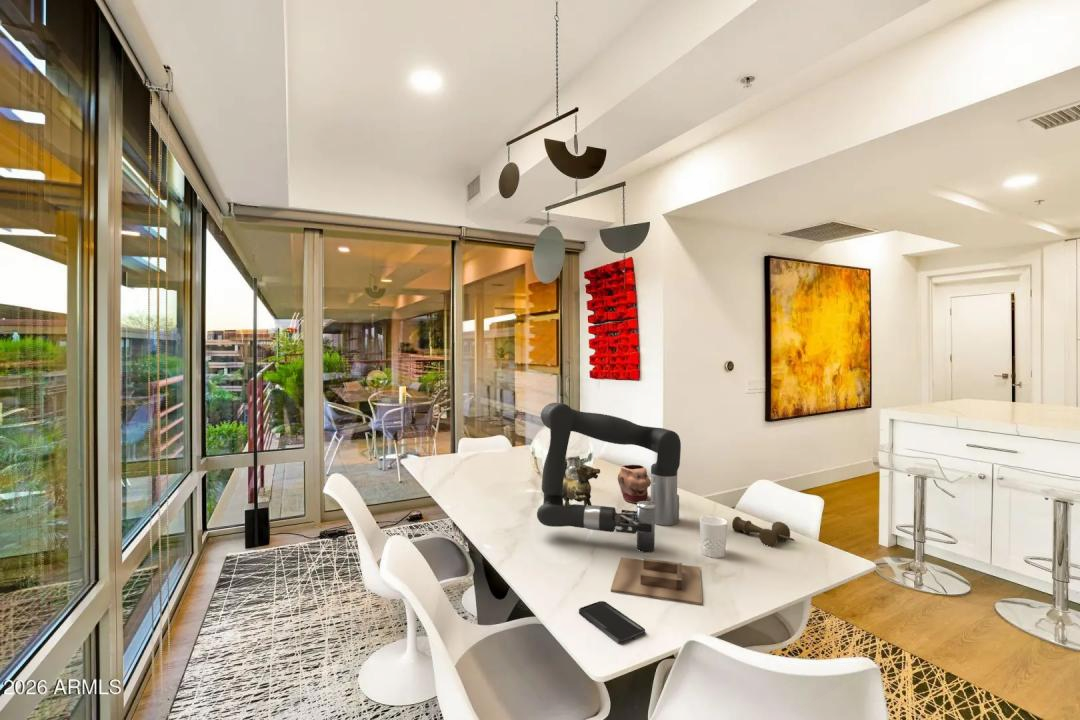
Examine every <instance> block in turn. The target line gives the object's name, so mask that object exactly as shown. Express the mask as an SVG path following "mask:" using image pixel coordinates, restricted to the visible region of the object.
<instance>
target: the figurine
mask: <svg viewBox="0 0 1080 720" xmlns="http://www.w3.org/2000/svg"><path fill="white" fill-rule="evenodd" d="M567 467H568V461H567V459H565V467H564V480H563V489H562V494H563V501H564V503H563V506H568V505H572V504H571V503H570V501H573V500H574V501H576V502H578V503H582V502H583V505H592V501H591V498H592V496H591V492H592V486H591V483H590V480H592V479H595V480H596V479H598V478H599V475H598V474H600V473H601V469H600V468H595V467H592V466H590V465H585V464H583V463H582V464H580V465H579V466H578V467H577V468H575V472H576V474H577V481H576V480H574V478H571V477H567V475H566V470H567Z"/></svg>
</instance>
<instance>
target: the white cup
mask: <svg viewBox="0 0 1080 720" xmlns="http://www.w3.org/2000/svg"><path fill="white" fill-rule="evenodd" d="M727 532H728V521H727V520H726V519H724V518H722V517H718V516H712V515H711V516H710V515H706V516H701V517H700V518H699V535H700V536H699V537H700V551H701V553H702V555H704V556H707V557H709V558H714V559H720V558H724V557H725V555H726V547H727V536H728V533H727Z"/></svg>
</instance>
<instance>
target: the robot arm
mask: <svg viewBox="0 0 1080 720" xmlns="http://www.w3.org/2000/svg"><path fill="white" fill-rule="evenodd" d="M540 420H541V422H542V423H543V425H544V426H545V427H546V428H548V429H549V432H550V438H549V439H550V440H549V447H548V450H547V455H546V457H545V460H544V463H543V464H544V465H543V468H542V478H541V491H542V493H543V502H542V503H543V504H541V505H540V506H539V507H538V509H537V512H536V516H537V517H536V518H537V520H538V522H540V523H541V524H542V525H543V526H546V527H554V528H557V527H558V528H560V527H573V528H579V529H588V530H592V531H598V532H600V531H601V532H609V533H614V532H615V531H616V533H624V534H631V535H632V534H633V535H634V534H635V535H637V532H639V531H643V532H651V531H652V525H651V524H644V523H637V510H628V509H621V512H617V510H616V507H613V506H604V505H596V504H591V505H584V504H571V505H568V506H563V504H564V499H563V494H562V489H563V480H564V467H565V459H566V458H567V451H568V446H569V442H570V436H571V432H574V433H579V434H581V435H583V436H587V437H588V438H592V439H595V440H598V441H602V442H605V443H609V444H615V445H623V446H625V445H631V446H632V445H634V446H639V447H642V448H644V449H647V450H649V451H652V452H653V453H656V462H655V463H653V464H652V465H651V467H650V480H651V484H650V502H653V503H655V525H659V526H660V525H661V526H673V525H676V524H677V523H678V522H680V495H679V494H678V471H679V467H680V465H681V449H682V447H681V446H682V445H681V443H682V442H681V438H680V435H679V434H678V433H677V432H675V431H674V430H670V429H666V428H664V427H663V428H662V427H654V426H646V425H645V426H644V425H640V424H637V423H634V422H633V421H630V420H628V419H624V418H621V417H618V416H613V415H609V414H605V413H598V412H597V413H596V412H586V411H580V410H577V409H573V408H571V406H569V405H568V404H566V403H562V402H551V403H548V404H546V405H545V406H544V407H543V408H542V410H541V412H540ZM566 460H567V459H566Z"/></svg>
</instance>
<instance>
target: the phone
mask: <svg viewBox="0 0 1080 720" xmlns="http://www.w3.org/2000/svg"><path fill="white" fill-rule="evenodd" d="M578 614H579V615H580V616H581V617H583V618H584V619H585V620H586V621H587V622H589V623H590V624H591V625H592V626H594V627H595V628H596V629H598V630H599V631H600V632H601V633H603V634H605V635H606V636H607V637H608V638H610V639H611V640H612V641H613V642H614V643H616V644H618V645H625V644H628V643H630V642H632V641H634V640H637V639H640V638H642V637H644V636H645V635H646V629H645V628H644V627H643V626H642V625H641V624H639V623H637V622H635V620H633V619H632V618H630V617H628V616H627V615H625V614H624V613H622V612H621V611H619V610H618V609H616V608H615V607H614V606H612V605H611V604H609V603H608V602H606V601H605V600H604V601H603V600H600V601H597V602H596V601H595V602H593V603H591V604H587V605H584V606H581V607H579V608H578Z"/></svg>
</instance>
